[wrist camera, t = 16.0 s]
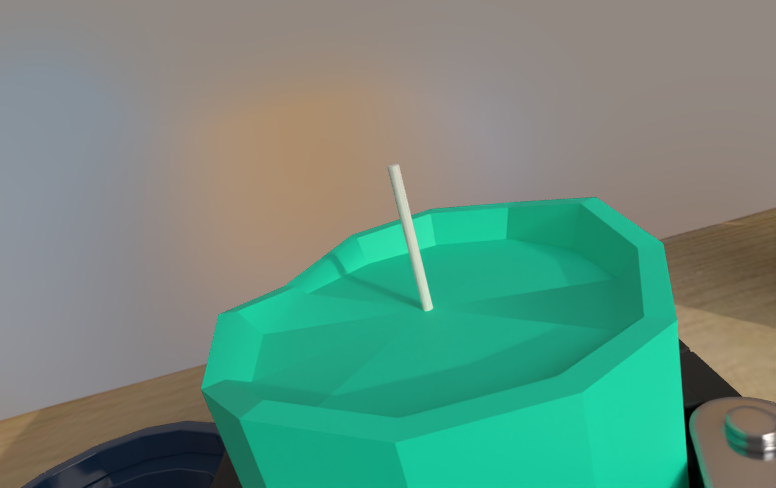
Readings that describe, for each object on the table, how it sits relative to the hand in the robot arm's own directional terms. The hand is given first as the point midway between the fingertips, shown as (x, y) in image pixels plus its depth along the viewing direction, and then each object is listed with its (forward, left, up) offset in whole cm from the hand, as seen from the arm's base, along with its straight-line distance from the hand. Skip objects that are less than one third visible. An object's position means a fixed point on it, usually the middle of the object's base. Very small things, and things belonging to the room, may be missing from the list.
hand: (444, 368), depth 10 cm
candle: (+2, +2, -7) cm, 8 cm away
